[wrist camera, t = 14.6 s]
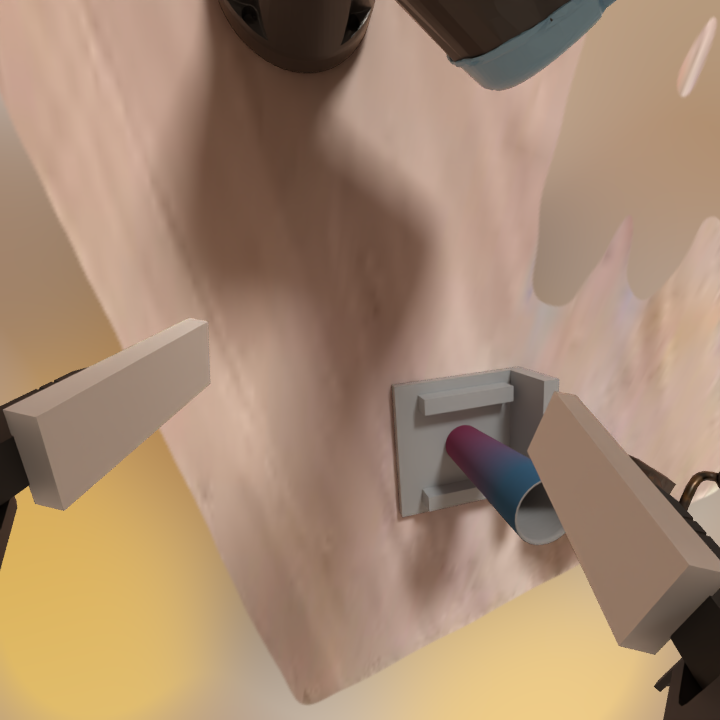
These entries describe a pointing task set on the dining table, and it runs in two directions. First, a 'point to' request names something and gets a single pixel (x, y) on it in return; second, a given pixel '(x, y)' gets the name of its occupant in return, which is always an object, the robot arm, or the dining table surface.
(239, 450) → the dining table surface
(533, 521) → the cup
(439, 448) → the dock
